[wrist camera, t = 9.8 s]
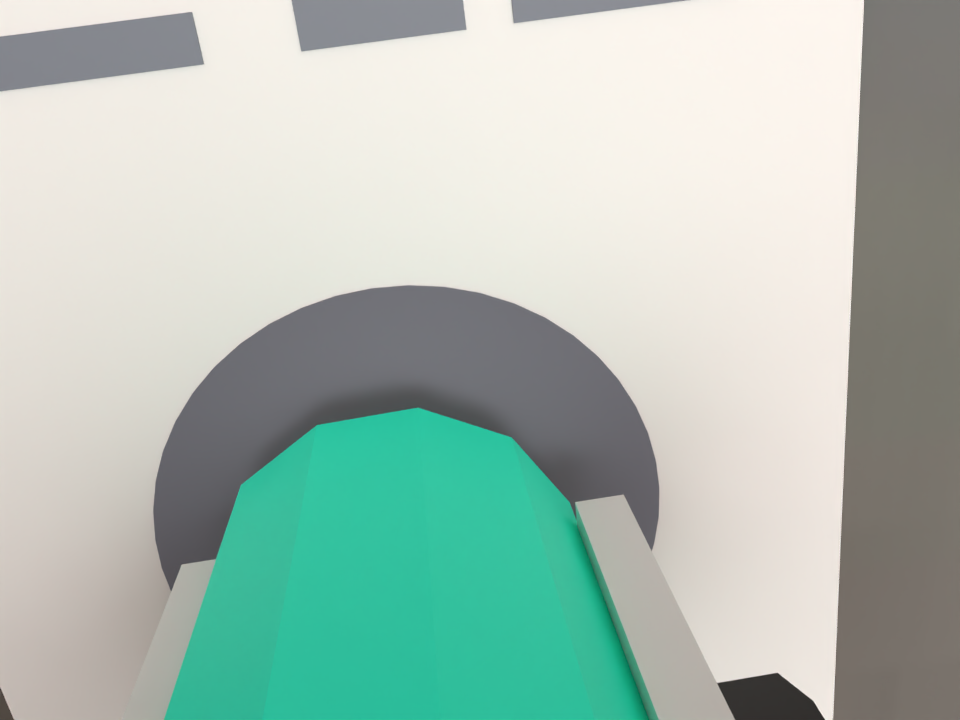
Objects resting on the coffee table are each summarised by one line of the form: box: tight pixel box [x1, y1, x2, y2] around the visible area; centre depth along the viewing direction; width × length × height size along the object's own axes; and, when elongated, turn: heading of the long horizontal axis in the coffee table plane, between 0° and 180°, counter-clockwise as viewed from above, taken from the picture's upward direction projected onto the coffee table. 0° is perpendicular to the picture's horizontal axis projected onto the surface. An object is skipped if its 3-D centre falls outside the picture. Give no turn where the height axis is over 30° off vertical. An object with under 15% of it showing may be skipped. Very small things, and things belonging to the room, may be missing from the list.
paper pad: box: [0, 0, 864, 720], centre depth 16 cm, size 24×16×1 cm, turn 7°
